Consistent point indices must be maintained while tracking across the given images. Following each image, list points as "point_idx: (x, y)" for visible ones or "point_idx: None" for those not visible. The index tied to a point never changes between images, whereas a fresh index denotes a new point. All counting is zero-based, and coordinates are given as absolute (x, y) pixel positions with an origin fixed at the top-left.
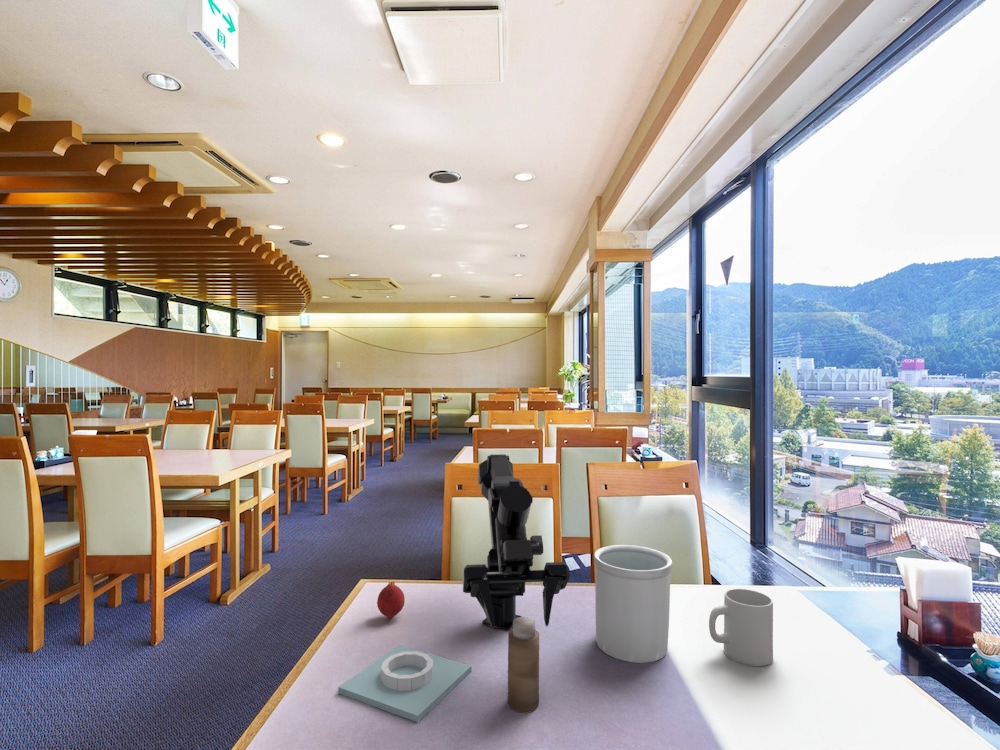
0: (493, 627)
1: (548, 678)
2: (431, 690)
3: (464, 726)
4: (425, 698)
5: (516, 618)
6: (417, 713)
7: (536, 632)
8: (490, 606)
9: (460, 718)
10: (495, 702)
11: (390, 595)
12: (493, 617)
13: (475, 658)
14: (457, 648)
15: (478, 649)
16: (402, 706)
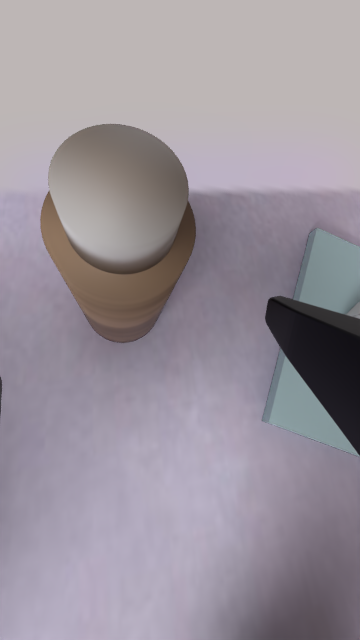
0: (269, 306)
1: (56, 424)
2: (322, 306)
3: (230, 227)
4: (323, 278)
5: (170, 224)
6: (320, 234)
7: (55, 242)
8: (354, 327)
9: (242, 248)
10: (184, 303)
11: None
12: (296, 309)
13: (266, 491)
14: (325, 538)
15: (270, 549)
16: (352, 252)
